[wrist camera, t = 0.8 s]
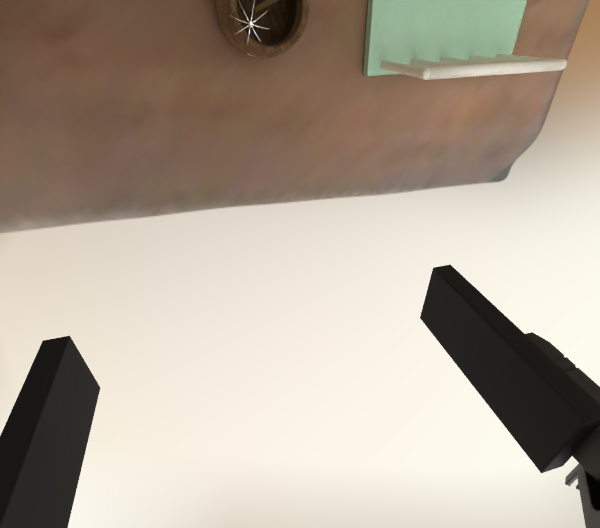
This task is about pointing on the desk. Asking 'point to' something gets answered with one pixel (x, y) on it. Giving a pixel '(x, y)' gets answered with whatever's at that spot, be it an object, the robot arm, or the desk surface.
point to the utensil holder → (262, 24)
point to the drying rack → (447, 39)
